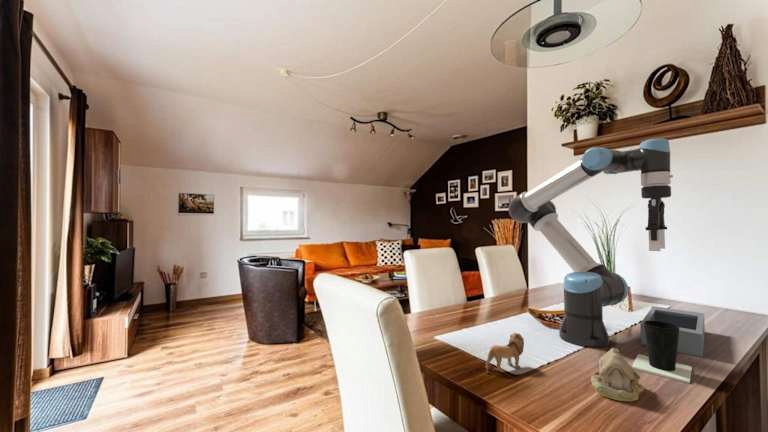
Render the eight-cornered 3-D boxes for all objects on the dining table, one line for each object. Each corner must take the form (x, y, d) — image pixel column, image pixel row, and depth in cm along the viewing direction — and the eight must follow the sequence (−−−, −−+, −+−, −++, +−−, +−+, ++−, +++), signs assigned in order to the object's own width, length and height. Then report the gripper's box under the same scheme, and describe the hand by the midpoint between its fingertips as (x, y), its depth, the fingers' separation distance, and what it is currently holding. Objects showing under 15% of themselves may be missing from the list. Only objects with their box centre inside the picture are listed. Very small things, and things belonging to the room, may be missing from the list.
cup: (637, 361, 94) (636, 320, 94) (661, 360, 95) (660, 319, 95) (662, 373, 86) (661, 329, 87) (688, 372, 87) (687, 328, 87)
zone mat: (631, 368, 91) (631, 366, 91) (638, 356, 99) (638, 354, 99) (689, 383, 82) (689, 381, 82) (691, 368, 90) (691, 366, 90)
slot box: (640, 343, 109) (640, 323, 109) (653, 323, 131) (652, 306, 131) (702, 357, 98) (702, 334, 98) (704, 331, 120) (704, 313, 120)
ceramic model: (591, 371, 89) (590, 336, 89) (642, 383, 83) (641, 344, 83) (589, 394, 78) (588, 353, 78) (648, 409, 71) (647, 364, 71)
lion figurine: (513, 358, 98) (513, 329, 98) (529, 365, 93) (528, 334, 93) (479, 370, 91) (479, 338, 91) (494, 377, 86) (494, 344, 86)
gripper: (667, 181, 94) (668, 253, 94) (674, 187, 112) (675, 248, 111) (635, 184, 100) (636, 251, 99) (646, 189, 117) (648, 246, 117)
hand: (657, 249), depth 105 cm, fingers open, 13 cm apart
